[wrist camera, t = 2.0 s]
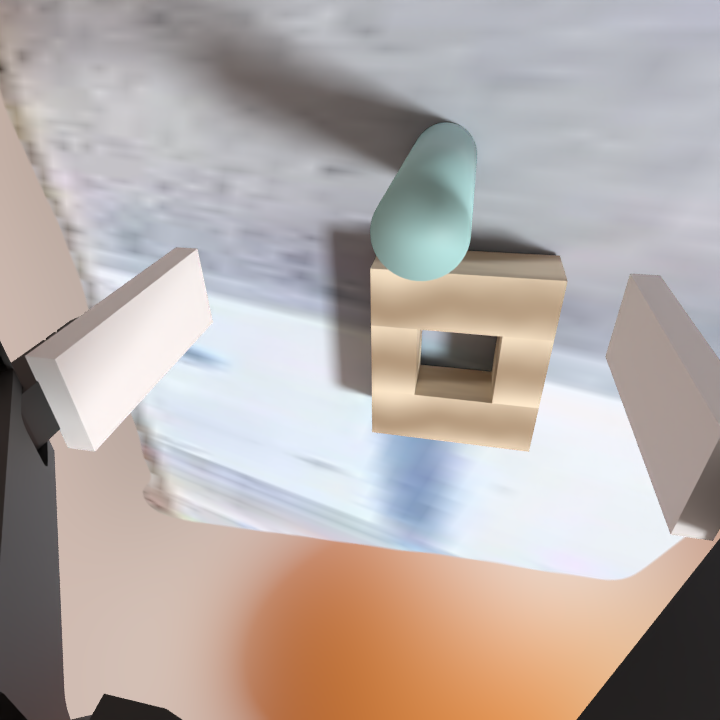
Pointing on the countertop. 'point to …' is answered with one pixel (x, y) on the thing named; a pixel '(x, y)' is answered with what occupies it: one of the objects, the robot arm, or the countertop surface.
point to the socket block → (471, 316)
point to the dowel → (428, 206)
